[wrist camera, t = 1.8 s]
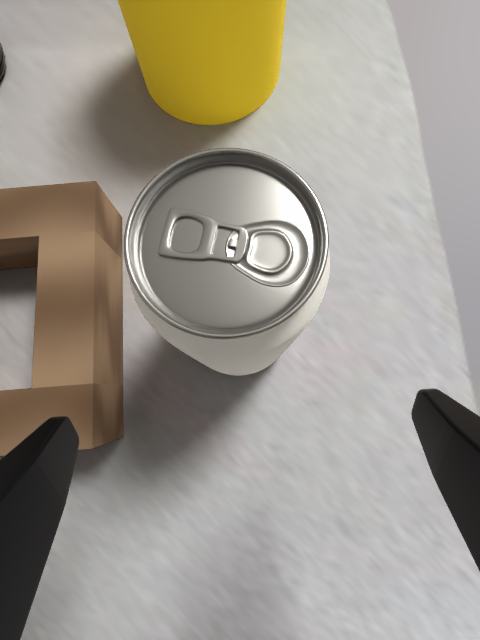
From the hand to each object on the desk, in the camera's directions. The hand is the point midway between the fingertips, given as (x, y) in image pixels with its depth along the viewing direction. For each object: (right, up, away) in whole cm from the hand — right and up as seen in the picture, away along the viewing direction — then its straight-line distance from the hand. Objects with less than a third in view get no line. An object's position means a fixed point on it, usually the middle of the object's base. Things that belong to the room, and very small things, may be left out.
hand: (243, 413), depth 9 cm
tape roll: (-2, +21, +16) cm, 27 cm away
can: (0, +2, +12) cm, 13 cm away
